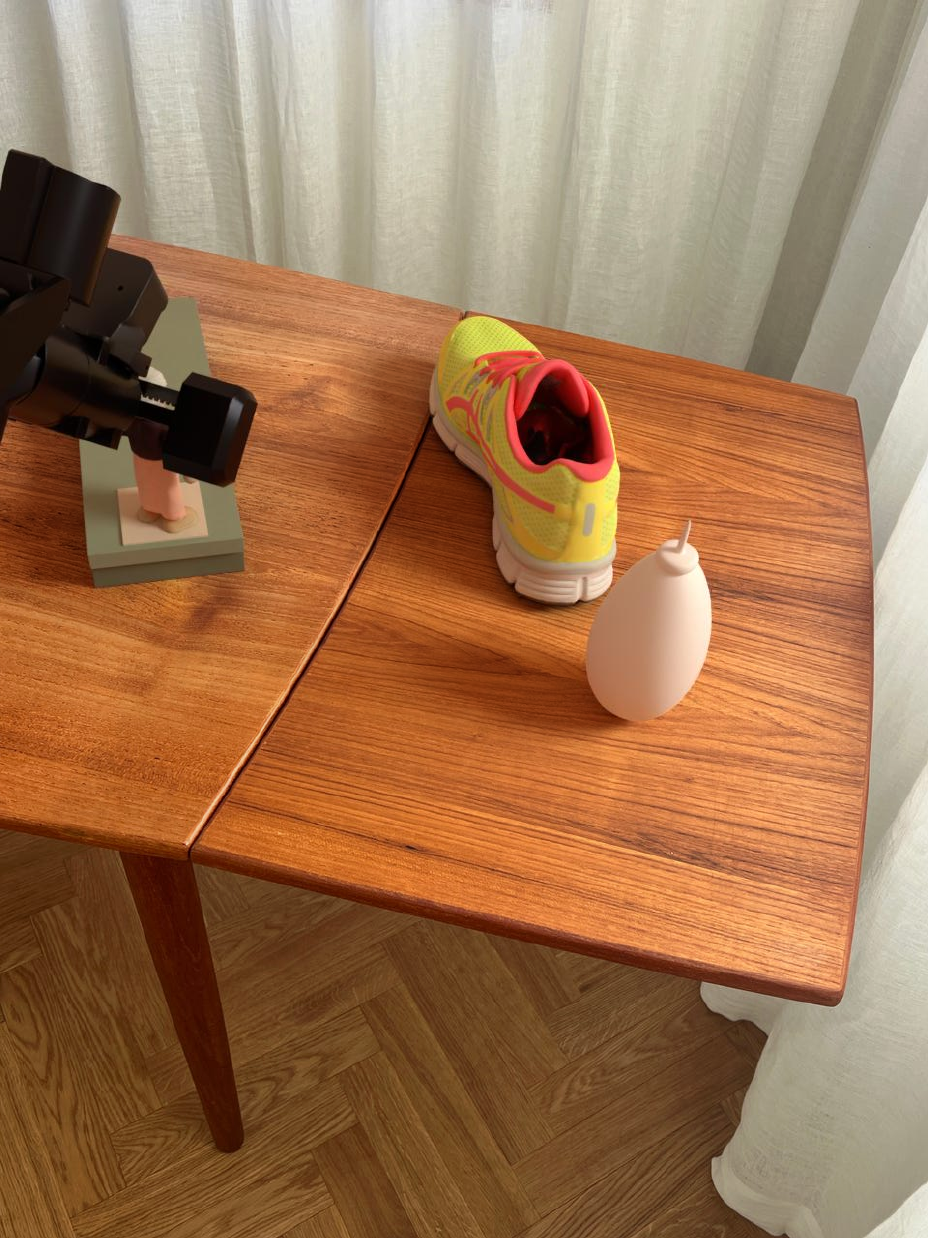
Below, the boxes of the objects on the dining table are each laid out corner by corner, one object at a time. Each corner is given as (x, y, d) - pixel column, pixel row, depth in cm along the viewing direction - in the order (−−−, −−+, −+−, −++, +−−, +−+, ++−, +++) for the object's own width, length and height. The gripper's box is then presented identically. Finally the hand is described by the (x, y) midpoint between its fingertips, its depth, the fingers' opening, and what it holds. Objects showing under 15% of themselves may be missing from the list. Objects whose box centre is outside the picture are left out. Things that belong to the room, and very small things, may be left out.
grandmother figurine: (220, 510, 83) (208, 369, 73) (197, 544, 80) (182, 402, 71) (125, 483, 84) (102, 340, 74) (100, 515, 81) (72, 372, 72)
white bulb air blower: (605, 645, 83) (660, 460, 70) (698, 695, 81) (774, 514, 68) (553, 711, 79) (602, 526, 65) (650, 767, 76) (722, 587, 63)
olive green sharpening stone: (246, 575, 84) (243, 535, 81) (95, 593, 82) (86, 552, 79) (198, 334, 104) (194, 294, 101) (76, 342, 102) (68, 301, 99)
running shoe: (528, 365, 107) (551, 227, 96) (664, 600, 87) (713, 460, 77) (405, 378, 103) (415, 237, 93) (518, 625, 84) (548, 483, 73)
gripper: (235, 277, 60) (318, 345, 76) (-64, 192, 63) (75, 273, 79) (177, 474, 61) (270, 501, 76) (-117, 381, 64) (31, 425, 79)
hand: (161, 420), depth 78 cm, fingers open, 9 cm apart
